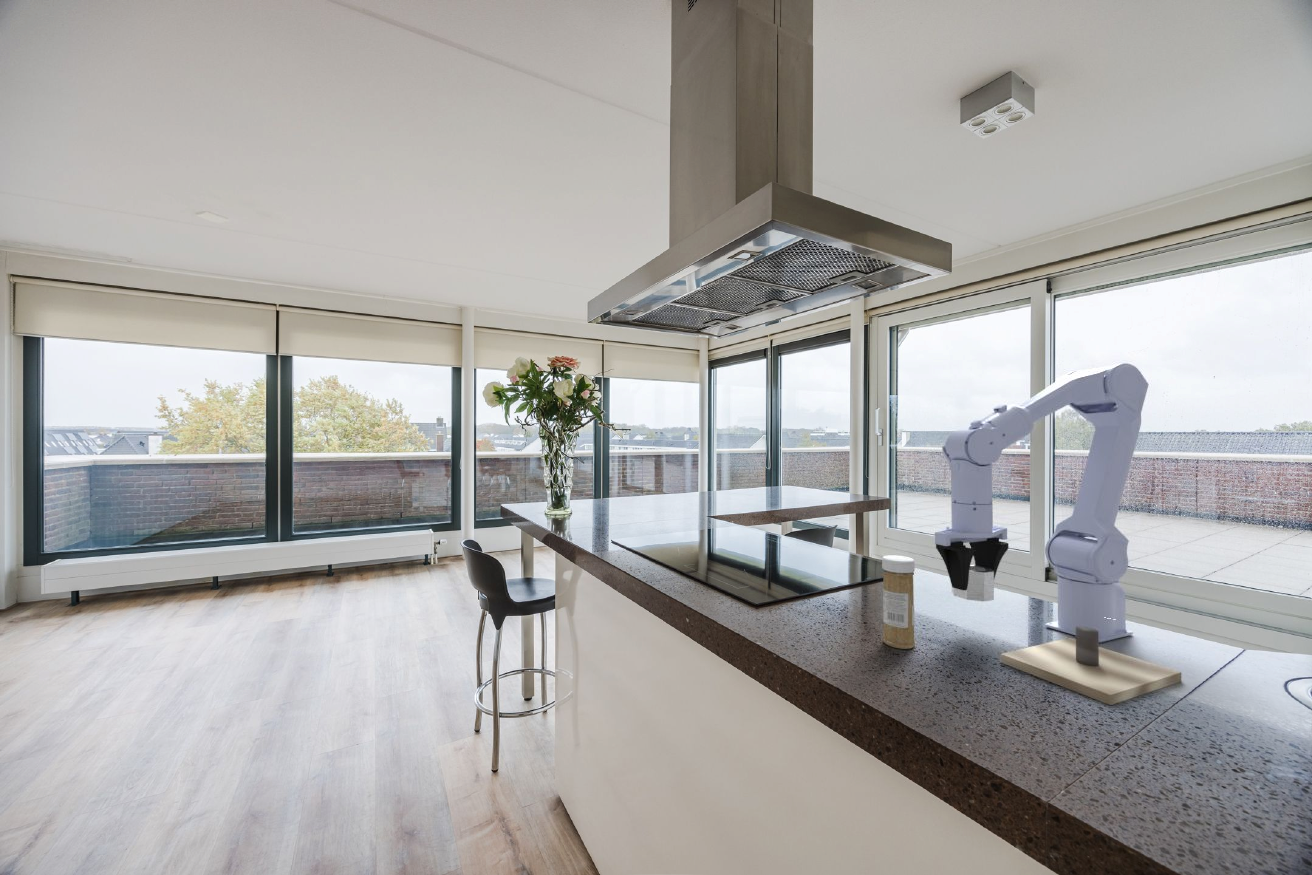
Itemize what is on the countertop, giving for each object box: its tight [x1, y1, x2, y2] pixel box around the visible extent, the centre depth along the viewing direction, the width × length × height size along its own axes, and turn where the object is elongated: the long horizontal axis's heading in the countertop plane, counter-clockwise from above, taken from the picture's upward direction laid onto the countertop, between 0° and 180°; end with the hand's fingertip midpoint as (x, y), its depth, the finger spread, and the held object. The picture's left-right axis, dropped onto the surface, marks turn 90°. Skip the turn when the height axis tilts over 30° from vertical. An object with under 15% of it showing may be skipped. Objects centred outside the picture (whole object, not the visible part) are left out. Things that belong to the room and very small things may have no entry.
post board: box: [1000, 626, 1182, 706], centre depth 70 cm, size 16×13×6 cm
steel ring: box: [951, 564, 995, 602], centre depth 83 cm, size 6×6×4 cm
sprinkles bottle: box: [881, 554, 916, 650], centre depth 80 cm, size 5×5×14 cm
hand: (972, 586), depth 83 cm, fingers closed on steel ring, 5 cm apart
